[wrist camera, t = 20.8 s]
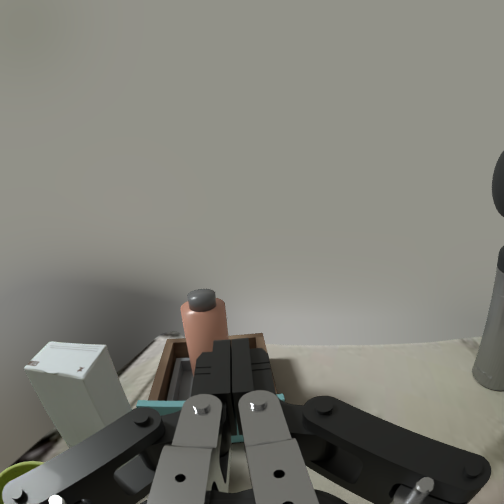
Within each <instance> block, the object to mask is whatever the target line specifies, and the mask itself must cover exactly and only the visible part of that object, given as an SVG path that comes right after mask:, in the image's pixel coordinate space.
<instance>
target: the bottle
mask: <svg viewBox="0 0 504 504" xmlns="http://www.w3.org/2000/svg"><path fill="white" fill-rule="evenodd" d="M187 296H188V301H187V302H186V303H184V304H183V305H182V306H181V314H182V320H183V326H184V331H185V337H186V342H187V348H188V353H189V358H190V363H191V368H192V373H193V378H194V371H195V365H196V359H197V358H198V357H199V356H200V355H201V353H202V352H212V351H213V341H214V340H226V339H229V338H228V329H227V319H226V310H225V303H224V301H222V300H221V299H218V298H216V297H215V292H214V291H213V290H210V289H198V290H194V291H192V292H190V293H189V294H188V295H187Z"/></svg>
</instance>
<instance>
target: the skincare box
mask: <svg viewBox="0 0 504 504" xmlns="http://www.w3.org/2000/svg"><path fill="white" fill-rule="evenodd" d="M24 370H25V372H26V374H27V376H28V378H29V380H30V382H31V384H32V386H33V388H34V390H35V392H36V394H37V396H38V397H39V399H40V401H41V403H42V405H43V406H44V408H45V410H46V412H47V413H48V415H49V417H50V418H51V420H52V422H53V423H54V425H55V427H56V428H57V430H58V431H59V433H60V434H61V436H62V437H63V439H64V440H65V442H66V443H67V445H68V446H69V448H71V447H73V446H75V445H76V444H78V443H80V442H82V441H83V440H85V439H87V438H88V437H90V436H91V435H93V434H95V433H96V432H98V431H100V430H101V429H103V428H104V427H106V426H108V425H109V424H111V423H112V422H114V421H116V420H117V419H119V418H120V417H122V416H123V415H125V414H127V413H128V412H130V411H131V410H132V409H131V407H130V404H129V402H128V400H127V398H126V395H125V393H124V390H123V388H122V386H121V383H120V381H119V378H118V376H117V373H116V371H115V368H114V365H113V363H112V360H111V357H110V355H109V352H108V349H107V346H106V345H92V344H91V345H90V344H73V343H60V342H52V341H50V342H49V343H48V344H47V345H46V346H45V347H44V348H43V349H42V350H41V351H40V352H39V353H38V354H37V355H36V356H35V357H34V358H33V359H32V360H31V361H30V362H29V363H28V364H27V365H26V366H25V368H24ZM138 455H139V454H138ZM138 455H137V456H138ZM137 456H135V457H134V458H136V457H137ZM134 458H132V459H131V460H133V459H134ZM131 460H129V461H128V462H130V461H131ZM128 462H127V463H128ZM127 463H125V464H124V465H126V464H127ZM124 465H122V466H121V467H123V466H124ZM121 467H119V468H118V469H120V468H121ZM118 469H117V470H118ZM117 470H116V471H117Z"/></svg>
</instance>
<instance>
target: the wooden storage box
mask: <svg viewBox="0 0 504 504" xmlns="http://www.w3.org/2000/svg"><path fill="white" fill-rule="evenodd" d="M228 338H229V339H230V340H231V346H232V339H238V338H248V339H249V348H250V349H253V348H263V349H264V350H265V351H266V352H267V349H266V345H265V341H264V337H263V333H256V334H245V335H233V336H228ZM176 358H189V353H188V348H187V342H186V338H183V339H167V341H166V344H165V347H164V350H163V353H162V356H161V359H160V363H159V366H158V369H157V372H156V375H155V379H154V382H153V385H152V388H151V392H150V395H149V398H148V401H167V397H168V392H169V388H170V383H171V379H172V375H173V370H174V366H175V362H176ZM270 367H271V366H270ZM271 372H272V370H271ZM272 377H273V374H272ZM273 382H274V378H273ZM274 387H275V392H276V394H277V390H276V386H275V382H274Z"/></svg>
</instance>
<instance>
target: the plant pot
mask: <svg viewBox="0 0 504 504" xmlns="http://www.w3.org/2000/svg"><path fill="white" fill-rule="evenodd" d="M42 464H43V463H42V462H35V461H29V462H23V463H18V464H15V465H13V466H11V467H9V468H7V469H5V470H4V471H3V472H1V473H0V504H4V502H3V499H2V491H3V488H4V487H5V485H6V484H7V483H8V482H10V481H11V480H13V479H15V478H17V477H19V476H21V475H23V474H25V473H27V472H29V471H31V470H32V469H34V468H36V467H38V466H40V465H42Z"/></svg>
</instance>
